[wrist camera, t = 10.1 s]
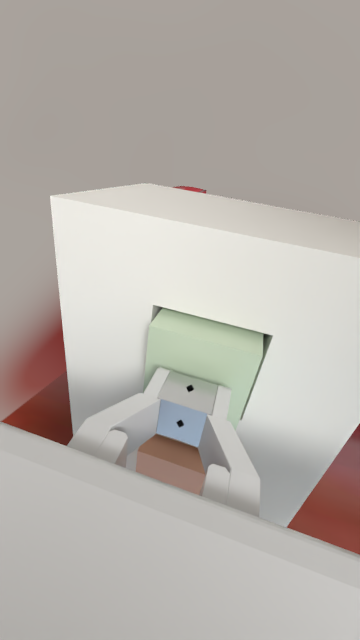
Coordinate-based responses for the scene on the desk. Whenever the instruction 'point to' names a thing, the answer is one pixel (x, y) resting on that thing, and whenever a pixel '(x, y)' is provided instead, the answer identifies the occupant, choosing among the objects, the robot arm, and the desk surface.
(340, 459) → the desk surface
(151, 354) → the sage button
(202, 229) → the button panel
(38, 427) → the desk surface
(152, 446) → the terracotta button
